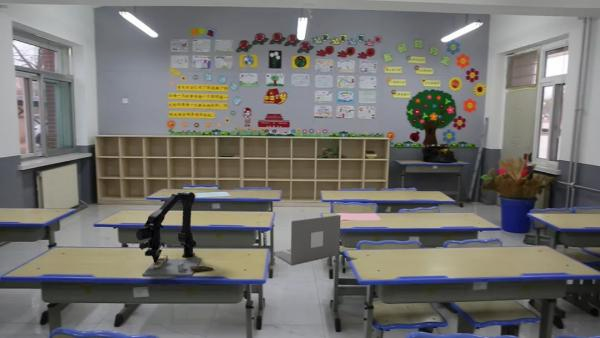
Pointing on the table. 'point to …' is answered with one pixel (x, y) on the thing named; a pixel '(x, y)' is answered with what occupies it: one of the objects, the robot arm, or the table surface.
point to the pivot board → (172, 268)
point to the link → (160, 262)
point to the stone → (200, 268)
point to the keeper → (181, 266)
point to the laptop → (312, 240)
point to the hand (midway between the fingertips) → (155, 263)
